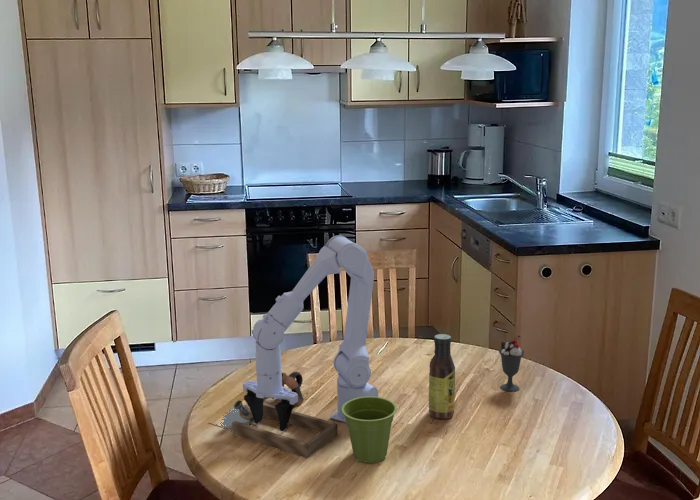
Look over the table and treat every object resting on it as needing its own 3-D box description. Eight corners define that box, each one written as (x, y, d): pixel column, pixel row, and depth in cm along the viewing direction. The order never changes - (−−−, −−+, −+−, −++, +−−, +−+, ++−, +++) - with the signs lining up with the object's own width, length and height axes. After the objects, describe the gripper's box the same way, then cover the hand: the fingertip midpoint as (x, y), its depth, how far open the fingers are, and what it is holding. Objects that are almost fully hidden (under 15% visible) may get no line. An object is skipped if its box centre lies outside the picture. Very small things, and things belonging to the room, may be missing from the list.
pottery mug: (294, 414, 179) (276, 387, 177) (269, 420, 185) (251, 394, 183) (318, 385, 188) (301, 359, 187) (293, 392, 194) (277, 367, 192)
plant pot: (364, 437, 166) (364, 391, 163) (407, 453, 159) (407, 405, 156) (330, 457, 157) (330, 409, 154) (374, 476, 150) (374, 425, 147)
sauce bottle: (453, 421, 173) (455, 342, 168) (427, 419, 174) (428, 341, 170) (455, 409, 179) (457, 333, 175) (429, 407, 180) (430, 331, 176)
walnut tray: (337, 435, 167) (337, 423, 166) (307, 458, 157) (307, 445, 156) (264, 414, 178) (264, 403, 177) (232, 434, 168) (231, 422, 167)
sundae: (525, 393, 188) (528, 338, 184) (499, 393, 188) (501, 338, 184) (520, 382, 194) (522, 329, 191) (494, 382, 194) (496, 329, 191)
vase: (237, 430, 170) (235, 405, 169) (233, 421, 175) (231, 398, 174) (259, 426, 171) (258, 402, 170) (255, 418, 176) (253, 394, 175)
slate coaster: (261, 417, 177) (261, 416, 176) (236, 432, 169) (236, 431, 169) (232, 409, 181) (232, 407, 181) (207, 423, 174) (207, 422, 174)
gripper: (233, 370, 166) (235, 424, 169) (283, 383, 159) (285, 440, 162) (252, 360, 172) (255, 413, 175) (302, 372, 165) (304, 427, 168)
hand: (271, 425), depth 169 cm, fingers open, 7 cm apart
